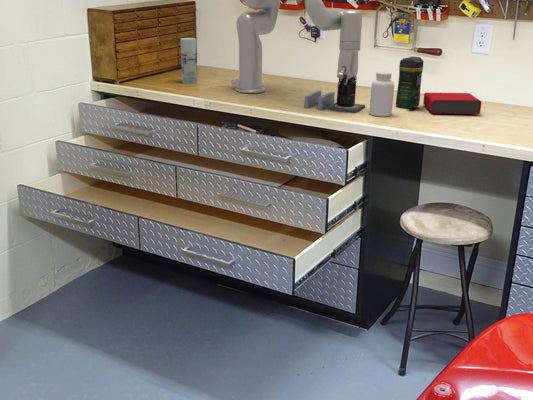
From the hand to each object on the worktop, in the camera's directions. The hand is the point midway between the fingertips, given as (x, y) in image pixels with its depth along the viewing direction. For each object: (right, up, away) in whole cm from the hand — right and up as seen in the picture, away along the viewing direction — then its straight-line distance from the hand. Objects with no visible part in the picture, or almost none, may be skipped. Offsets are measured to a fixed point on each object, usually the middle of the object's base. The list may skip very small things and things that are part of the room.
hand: (347, 93), depth 234 cm
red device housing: (+40, -6, +5) cm, 40 cm away
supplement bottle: (0, -4, +2) cm, 5 cm away
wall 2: (-7, -4, +5) cm, 10 cm away
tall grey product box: (-63, +10, +43) cm, 77 cm away
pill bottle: (+11, -9, -6) cm, 16 cm away
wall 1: (-12, -3, +8) cm, 15 cm away
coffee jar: (+24, -4, +8) cm, 26 cm away
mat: (0, -5, +2) cm, 6 cm away
